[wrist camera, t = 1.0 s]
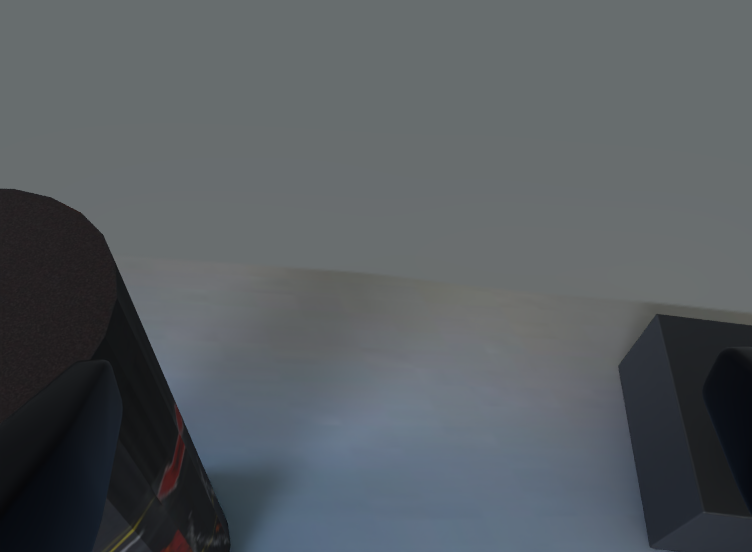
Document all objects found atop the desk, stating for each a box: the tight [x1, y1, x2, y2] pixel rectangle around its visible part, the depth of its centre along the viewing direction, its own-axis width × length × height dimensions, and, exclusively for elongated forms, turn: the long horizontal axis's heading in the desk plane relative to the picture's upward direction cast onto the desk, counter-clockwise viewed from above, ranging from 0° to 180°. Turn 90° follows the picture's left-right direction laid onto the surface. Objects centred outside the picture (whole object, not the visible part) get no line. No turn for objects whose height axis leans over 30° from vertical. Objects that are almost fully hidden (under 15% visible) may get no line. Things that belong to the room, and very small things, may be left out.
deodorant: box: [0, 189, 230, 552], centre depth 15 cm, size 6×6×15 cm
